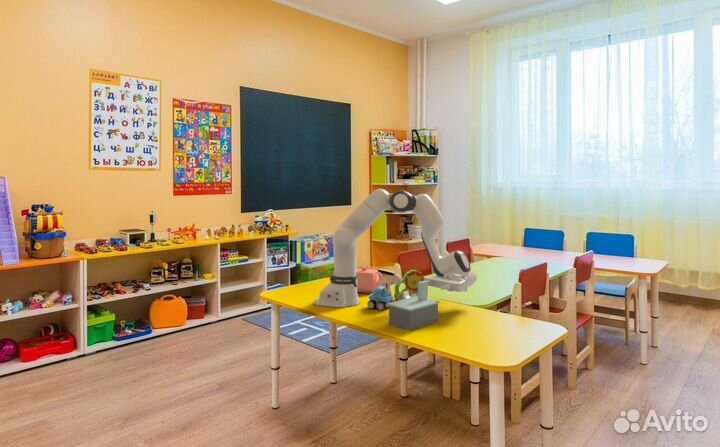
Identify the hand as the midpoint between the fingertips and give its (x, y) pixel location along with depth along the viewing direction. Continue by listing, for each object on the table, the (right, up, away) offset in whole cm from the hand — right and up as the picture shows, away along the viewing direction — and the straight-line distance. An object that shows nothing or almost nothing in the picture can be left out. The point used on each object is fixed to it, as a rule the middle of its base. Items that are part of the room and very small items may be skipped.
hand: (433, 285), depth 202 cm
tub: (-10, -15, -8) cm, 19 cm away
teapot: (-29, -10, +54) cm, 62 cm away
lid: (-10, -7, -9) cm, 15 cm away
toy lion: (-7, -12, +32) cm, 35 cm away
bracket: (-4, -13, +18) cm, 23 cm away
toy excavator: (-21, -13, +14) cm, 28 cm away
